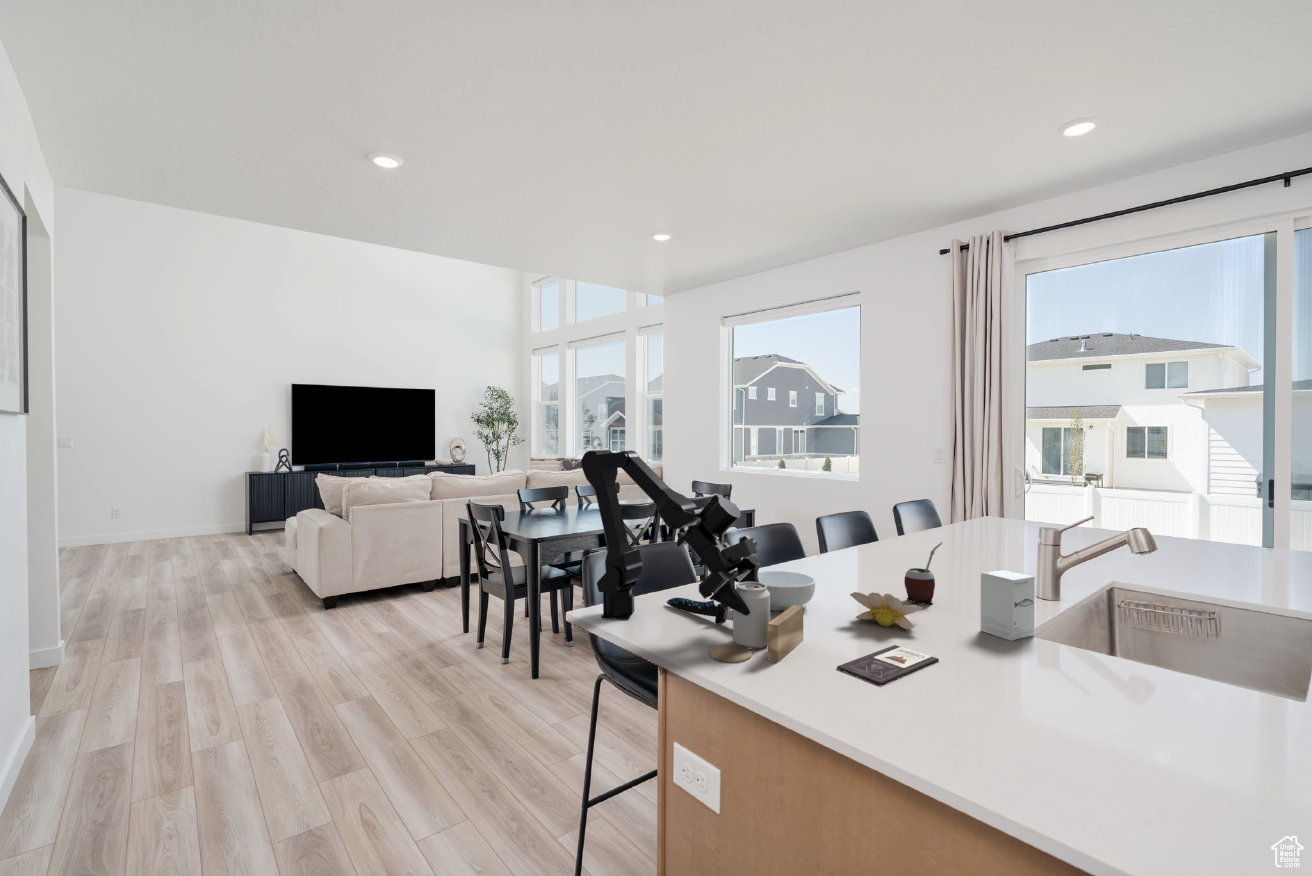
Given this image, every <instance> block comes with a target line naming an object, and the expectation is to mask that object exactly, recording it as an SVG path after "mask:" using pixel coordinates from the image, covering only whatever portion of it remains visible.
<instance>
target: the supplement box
mask: <svg viewBox="0 0 1312 876" xmlns="http://www.w3.org/2000/svg"><path fill="white" fill-rule="evenodd" d="M1035 587H1036V586H1035V576H1033V575H1030V574H1024V573H1020V572H1014V571H1011V570H1005V569H1001V570H993V571H987V572H981V573H980V632H981V631H982V632H985V633H986V634H990V635H992V636H995V637H998V638H1001V639H1005V640H1007V641H1010V642H1012V641H1016V640H1019V639H1023V638H1028V637H1029V638H1030V637H1034V636H1035V596H1036V595H1035V593H1036V592H1035Z"/></svg>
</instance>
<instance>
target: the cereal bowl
mask: <svg viewBox="0 0 1312 876" xmlns="http://www.w3.org/2000/svg"><path fill="white" fill-rule="evenodd" d="M758 580H759V583H763V584H765V585H766V586H767V588H766V589H767V590H768V591H769V593H770V610H772V609H774V611H779V610H787V609H789V608H790V607H792V606H793V605H797V606H804V605H806V604H807V603H809V602H810V601H811V599H812V598H813V597H814V595H815V590H816V589H815V588H816V580H815V579H814V578H813V577H812V576H810V575H808V574H804V573H800V572H795V571H785V570H784V571H783V570H762V571H761V570H759V571H758Z"/></svg>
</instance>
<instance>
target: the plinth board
mask: <svg viewBox="0 0 1312 876" xmlns="http://www.w3.org/2000/svg"><path fill="white" fill-rule="evenodd" d="M803 641H804V605H800V606H797V605H793V606H792V607H790V608H789V609H787V610H786V611H783V612H782V613H781V614H779V615H778V616H776V617H774V618H773V619H772V620H770V622H769V623H768V644H767V661H768V662H773V663H777V664H778V663H779V662H781V661H782V660H783V659H784V658H785V657H786V656H788V654H789V653H791V652H792V651H793V650H795V649H796V648H797V647H798V646H799V645H800V644H801V643H802V642H803ZM800 642H801V643H800ZM798 644H799V645H798ZM797 645H798V646H797Z"/></svg>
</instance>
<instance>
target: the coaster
mask: <svg viewBox="0 0 1312 876" xmlns="http://www.w3.org/2000/svg"><path fill="white" fill-rule="evenodd" d="M709 656H710V658H711V659H713V660H715V661H719V662H723V663H728V662H730V663H731V664H734V662H735V663H736V662H738V663H742V662H743V663H744V662H746V661H749V660H750V659H751V658H752V651H751V650H750V649H748V648H745V647H742V646H739V645H738V644H737V645H736V644H721V645H716V646H714V647H711V648H710V650H709Z"/></svg>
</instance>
